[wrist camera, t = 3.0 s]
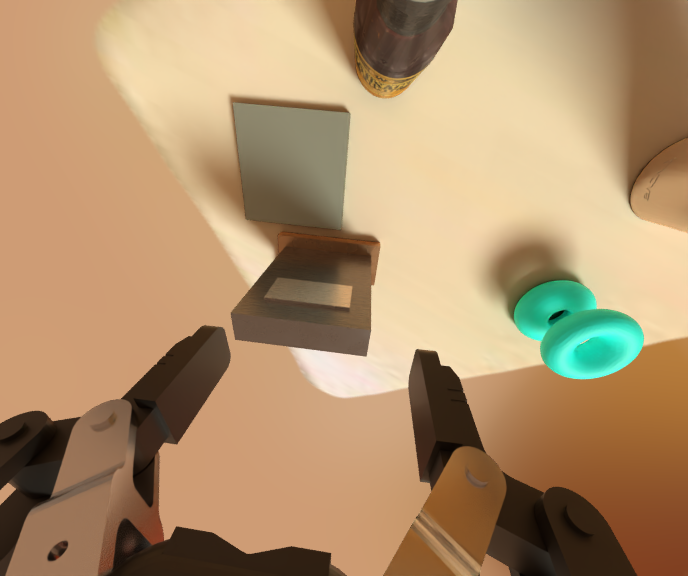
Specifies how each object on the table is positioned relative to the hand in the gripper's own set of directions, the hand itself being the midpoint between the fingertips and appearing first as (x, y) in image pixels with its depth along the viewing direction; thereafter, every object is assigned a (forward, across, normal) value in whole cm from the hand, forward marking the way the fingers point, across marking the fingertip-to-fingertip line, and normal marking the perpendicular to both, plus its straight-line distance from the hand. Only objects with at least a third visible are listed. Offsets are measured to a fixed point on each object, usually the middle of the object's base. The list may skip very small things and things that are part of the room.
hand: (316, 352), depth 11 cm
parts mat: (+26, +8, -4) cm, 28 cm away
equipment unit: (+26, +4, +7) cm, 28 cm away
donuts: (+27, -29, +12) cm, 42 cm away
